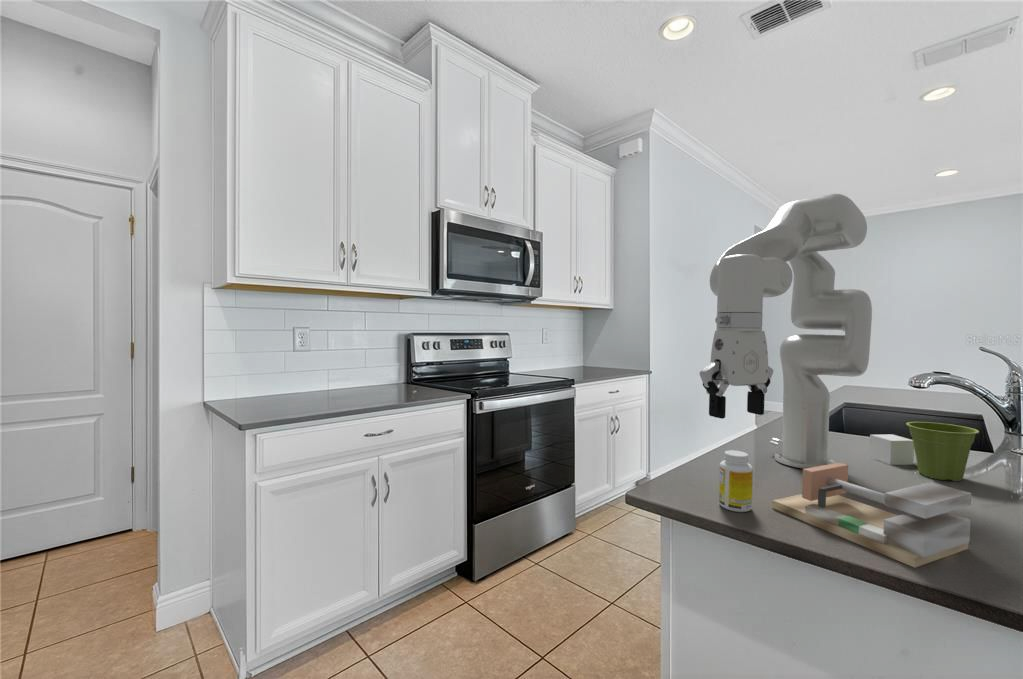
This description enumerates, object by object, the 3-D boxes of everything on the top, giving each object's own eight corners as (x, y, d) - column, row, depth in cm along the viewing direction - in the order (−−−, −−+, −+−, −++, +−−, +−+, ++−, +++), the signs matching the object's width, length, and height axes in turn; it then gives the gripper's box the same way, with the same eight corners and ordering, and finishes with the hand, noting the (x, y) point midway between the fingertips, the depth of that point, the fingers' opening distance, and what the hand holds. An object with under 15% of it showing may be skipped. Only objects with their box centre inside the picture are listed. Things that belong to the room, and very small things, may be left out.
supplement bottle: (758, 510, 83) (760, 455, 83) (738, 515, 81) (739, 459, 80) (732, 499, 88) (733, 447, 88) (712, 504, 86) (713, 451, 85)
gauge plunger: (798, 499, 80) (799, 469, 80) (838, 490, 84) (838, 462, 84) (895, 535, 67) (896, 500, 66) (937, 523, 71) (938, 489, 71)
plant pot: (974, 475, 102) (976, 426, 101) (980, 490, 93) (982, 436, 93) (904, 464, 110) (906, 418, 109) (904, 476, 101) (905, 427, 101)
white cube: (869, 457, 116) (870, 434, 115) (891, 457, 116) (892, 434, 116) (890, 465, 110) (891, 440, 109) (913, 464, 110) (914, 440, 110)
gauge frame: (772, 508, 84) (773, 460, 84) (821, 497, 89) (823, 452, 89) (919, 569, 63) (921, 506, 63) (972, 550, 68) (975, 492, 68)
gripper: (720, 322, 76) (717, 422, 77) (790, 323, 83) (787, 416, 83) (687, 322, 83) (685, 414, 84) (754, 323, 90) (752, 408, 90)
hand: (736, 415), depth 83 cm, fingers open, 9 cm apart
